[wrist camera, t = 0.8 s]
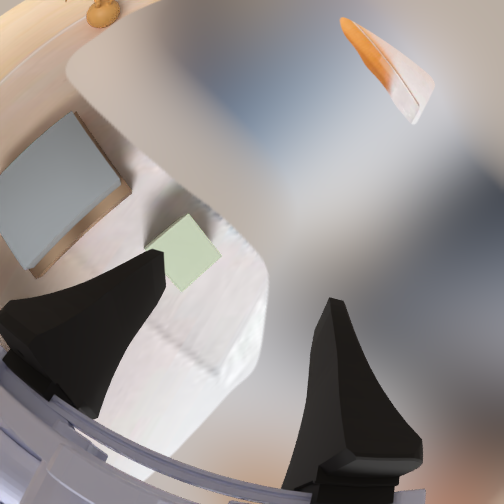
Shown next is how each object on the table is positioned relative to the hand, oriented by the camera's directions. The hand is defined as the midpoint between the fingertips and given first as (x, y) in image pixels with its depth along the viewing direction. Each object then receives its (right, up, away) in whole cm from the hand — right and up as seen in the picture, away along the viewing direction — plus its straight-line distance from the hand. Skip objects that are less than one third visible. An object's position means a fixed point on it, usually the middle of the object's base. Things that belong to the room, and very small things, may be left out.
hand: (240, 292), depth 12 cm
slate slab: (-17, +7, +8) cm, 20 cm away
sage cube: (-7, +2, +15) cm, 16 cm away
